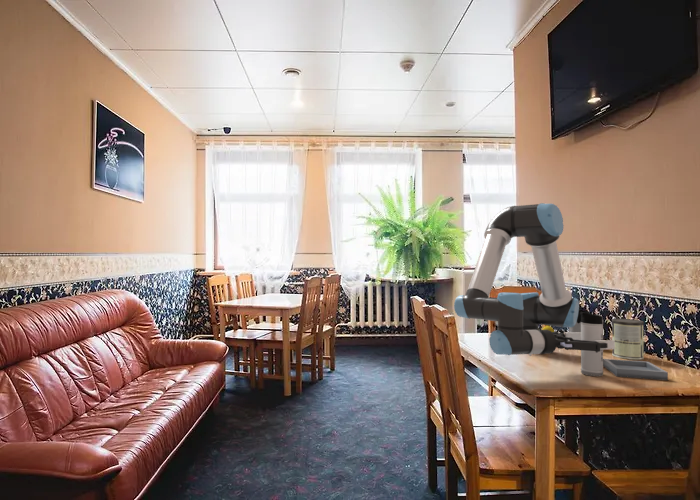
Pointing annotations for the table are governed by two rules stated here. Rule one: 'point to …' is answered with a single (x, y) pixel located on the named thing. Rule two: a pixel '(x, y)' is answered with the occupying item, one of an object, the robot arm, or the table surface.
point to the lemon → (548, 328)
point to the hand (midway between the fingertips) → (597, 340)
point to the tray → (635, 369)
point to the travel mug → (591, 332)
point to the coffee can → (628, 338)
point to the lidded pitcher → (578, 323)
